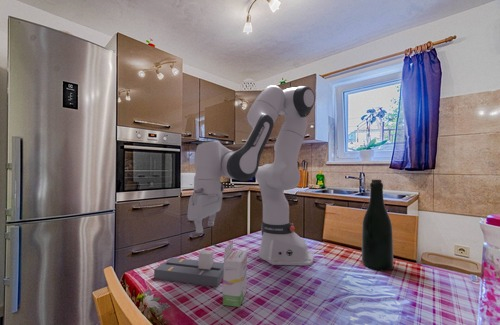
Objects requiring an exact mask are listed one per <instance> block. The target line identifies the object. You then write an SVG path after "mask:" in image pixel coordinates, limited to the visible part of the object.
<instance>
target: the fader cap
mask: <svg viewBox="0 0 500 325" xmlns="http://www.w3.org/2000/svg"><path fill="white" fill-rule="evenodd" d="M198 260H199V265H198V268H200V269H208V270H210V269H211V268H212V267H213V262H214V250H209V249H208V250H207V249H202V250H200V251H199V252H198Z"/></svg>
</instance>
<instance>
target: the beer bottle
mask: <svg viewBox="0 0 500 325" xmlns="http://www.w3.org/2000/svg"><path fill="white" fill-rule="evenodd" d="M369 187H370V188H369V189H370V195H369V202H368V206H367V209H366V210H365V213H364V216H363V220H362V225H361V226H362V228H361V230H362V232H361V236H362V237H361V263H362V264H363V265H364V266H366V267H367V266H368V268H369V267H370V268H369V269H372V268H373V270H376V271H381V270H383V271H386V270H388V271H391V270H393V268H394V243H393V242H394V239H393V238H394V236H393V225H392V220H391V218H390V216H389V213H388V211H387V209H386V206H385V200H384V183H383V182H382V180H381V179H377V178H376V179H371V182H370V184H369ZM383 271H382V272H383Z"/></svg>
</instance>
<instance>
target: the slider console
mask: <svg viewBox="0 0 500 325" xmlns="http://www.w3.org/2000/svg"><path fill="white" fill-rule="evenodd" d="M198 265H199V259H197V260H196V259H187V258H178V257H170V258H169V259H167V260H166V261H164V262H163V263H161V264H160V265H159V266H157V267H156V268H154V270H153V272H154V273H153V279H155V280H160V281H161V280H162V281H163V280H164V281H168V282H176V283H183V284H185V283H186V284H192V285H199V286H207V287H215V288H218V286H219V285H220V284H221V282H222V281H223V276H224V262H215V261H213V267H212V268H211V269H210V270H208V269H200V268H198Z"/></svg>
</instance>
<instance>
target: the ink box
mask: <svg viewBox="0 0 500 325" xmlns="http://www.w3.org/2000/svg"><path fill="white" fill-rule="evenodd" d="M233 247H234V240H231V241H230V242H229V244H228V245H227V246H226V247H225V248H224V255H223V263H224V276H223V279H222V281H223V282H222V284H223V286H222V305H223V306H227V307H228V306H229V307H235V308H237V307H238V308H240V307H241V304H242V302H243V301H244V298H245V295H246V293H247V287H248V286H247V285H248V284H247V282H248V281H247V280H248V278H247V277H248V274H247V273H248V272H247V271H248V251H246V250H237V249H236V250H235V249H233Z"/></svg>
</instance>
